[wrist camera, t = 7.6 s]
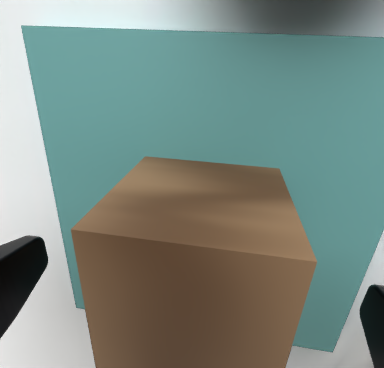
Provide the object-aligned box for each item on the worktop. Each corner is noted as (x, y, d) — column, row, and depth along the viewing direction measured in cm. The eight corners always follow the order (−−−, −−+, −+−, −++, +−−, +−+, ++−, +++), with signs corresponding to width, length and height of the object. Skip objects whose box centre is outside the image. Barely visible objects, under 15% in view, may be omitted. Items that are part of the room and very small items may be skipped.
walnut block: (279, 168, 8) (317, 261, 4) (258, 274, 10) (272, 408, 6) (145, 156, 9) (70, 229, 5) (148, 259, 11) (96, 372, 7)
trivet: (439, 42, 7) (462, 39, 6) (326, 335, 12) (332, 352, 11) (39, 29, 9) (21, 25, 8) (84, 294, 14) (76, 307, 13)
